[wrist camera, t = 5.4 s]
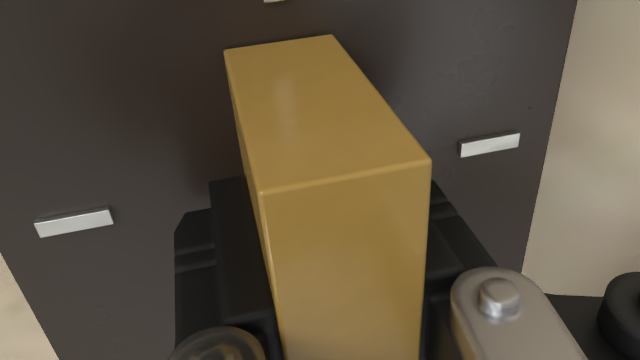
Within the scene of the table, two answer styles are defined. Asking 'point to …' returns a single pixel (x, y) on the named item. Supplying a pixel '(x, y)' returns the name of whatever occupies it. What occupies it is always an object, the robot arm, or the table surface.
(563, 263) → the table surface
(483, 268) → the robot arm
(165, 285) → the lock plate
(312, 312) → the lock knob
